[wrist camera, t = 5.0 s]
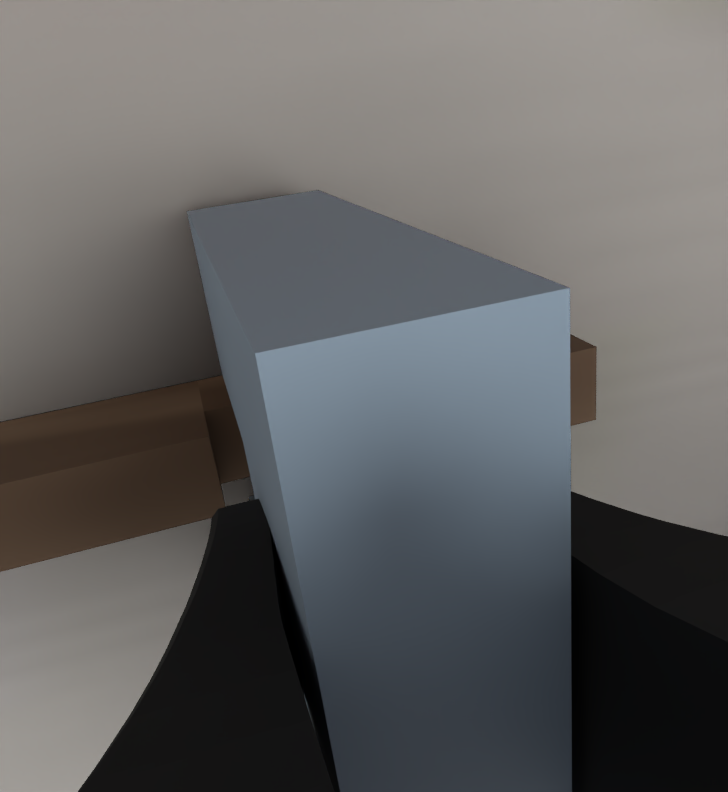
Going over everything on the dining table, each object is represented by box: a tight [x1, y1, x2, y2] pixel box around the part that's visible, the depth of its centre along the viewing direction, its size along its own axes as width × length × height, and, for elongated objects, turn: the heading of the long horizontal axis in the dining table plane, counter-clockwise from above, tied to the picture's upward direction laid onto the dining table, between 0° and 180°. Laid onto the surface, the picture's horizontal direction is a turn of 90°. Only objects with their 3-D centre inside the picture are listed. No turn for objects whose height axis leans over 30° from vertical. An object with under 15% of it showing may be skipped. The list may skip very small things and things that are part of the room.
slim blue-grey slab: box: [187, 190, 572, 792], centre depth 11 cm, size 9×2×8 cm, turn 7°
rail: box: [0, 334, 596, 572], centre depth 14 cm, size 2×12×3 cm, turn 96°
